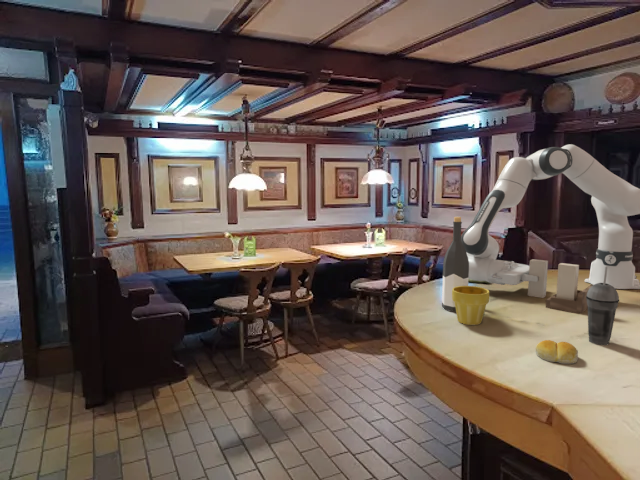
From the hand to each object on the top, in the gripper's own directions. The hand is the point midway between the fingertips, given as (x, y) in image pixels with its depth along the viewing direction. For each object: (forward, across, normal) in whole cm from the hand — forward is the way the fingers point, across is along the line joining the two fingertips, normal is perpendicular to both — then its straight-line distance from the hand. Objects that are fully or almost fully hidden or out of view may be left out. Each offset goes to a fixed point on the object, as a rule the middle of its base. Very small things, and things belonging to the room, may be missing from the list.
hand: (540, 277), depth 155 cm
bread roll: (+20, -50, +8) cm, 55 cm away
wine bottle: (-17, -29, +8) cm, 35 cm away
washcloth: (-31, +18, +9) cm, 37 cm away
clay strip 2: (+11, -10, +6) cm, 16 cm away
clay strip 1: (-1, 0, +8) cm, 8 cm away
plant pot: (-7, -39, +8) cm, 40 cm away
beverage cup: (+25, -32, +8) cm, 42 cm away
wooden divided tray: (+11, -5, +8) cm, 15 cm away
